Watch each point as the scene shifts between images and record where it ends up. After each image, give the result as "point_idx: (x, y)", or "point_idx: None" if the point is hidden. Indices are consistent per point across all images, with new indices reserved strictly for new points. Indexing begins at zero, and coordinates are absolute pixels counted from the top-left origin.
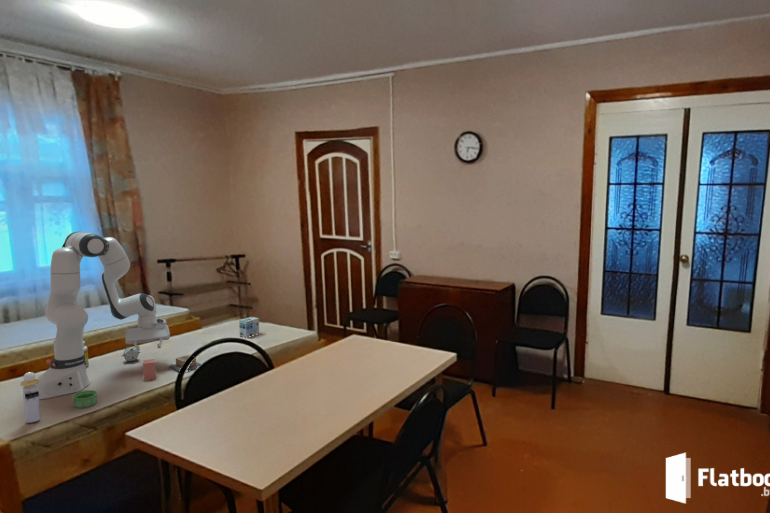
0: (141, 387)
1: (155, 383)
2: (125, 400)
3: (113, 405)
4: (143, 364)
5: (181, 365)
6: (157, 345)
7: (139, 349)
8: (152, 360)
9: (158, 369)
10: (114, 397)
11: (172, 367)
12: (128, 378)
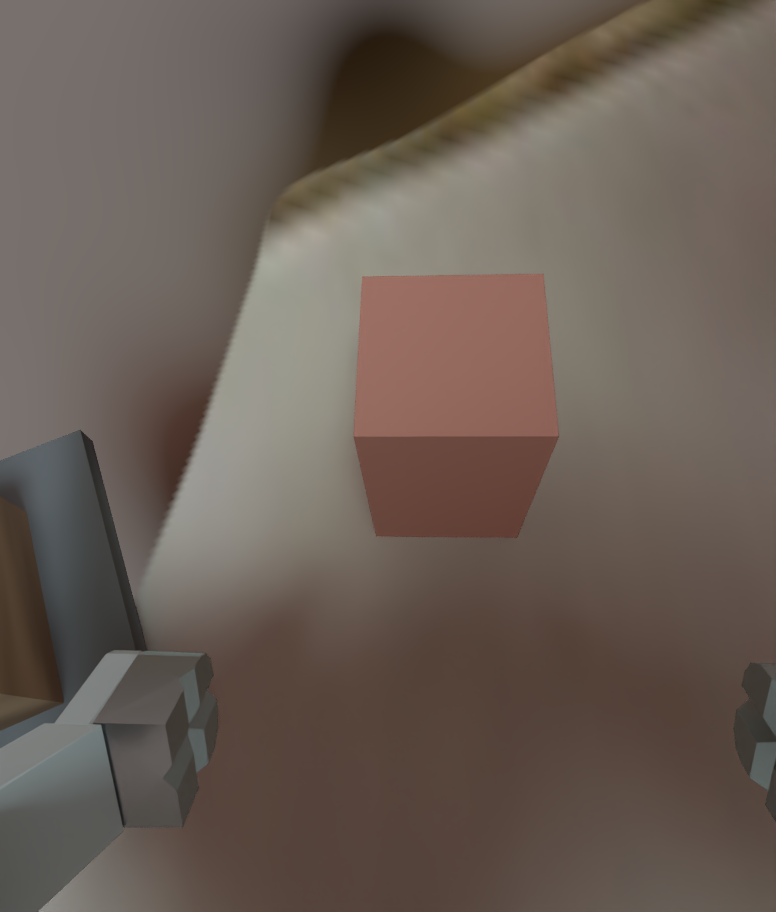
0: (519, 230)
1: (388, 275)
2: (620, 47)
3: (693, 5)
4: (535, 281)
5: (7, 534)
6: (186, 711)
7: (746, 674)
8: (394, 373)
9: (322, 746)
10: (727, 114)
11: (128, 643)
12: (709, 537)
